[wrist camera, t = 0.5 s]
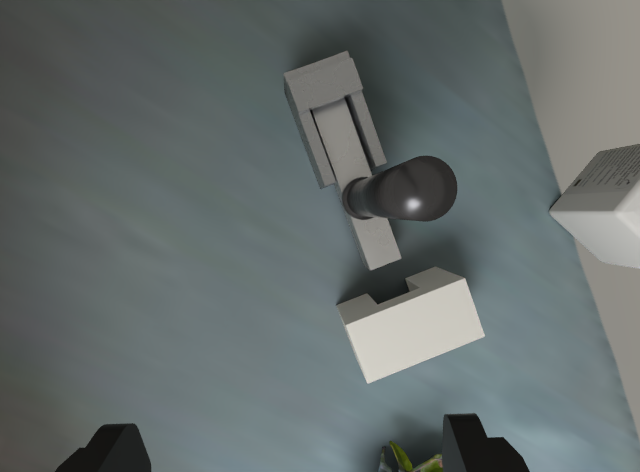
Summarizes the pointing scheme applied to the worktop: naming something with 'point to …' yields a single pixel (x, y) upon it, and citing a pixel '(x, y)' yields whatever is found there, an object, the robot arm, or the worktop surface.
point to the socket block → (411, 323)
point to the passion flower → (431, 468)
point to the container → (605, 206)
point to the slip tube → (380, 186)
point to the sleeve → (322, 88)
